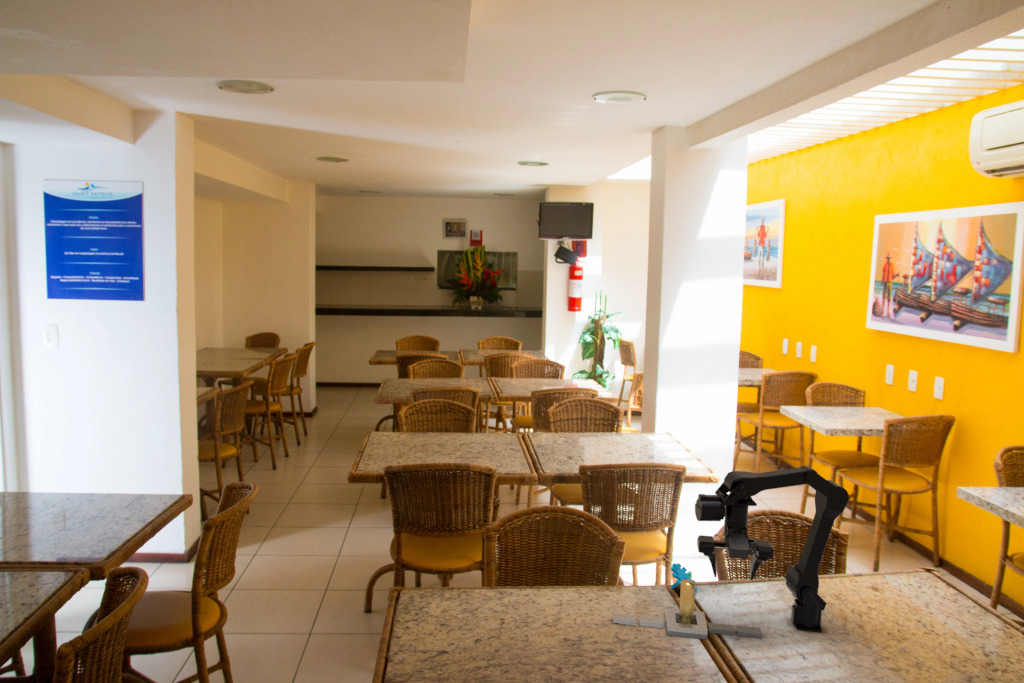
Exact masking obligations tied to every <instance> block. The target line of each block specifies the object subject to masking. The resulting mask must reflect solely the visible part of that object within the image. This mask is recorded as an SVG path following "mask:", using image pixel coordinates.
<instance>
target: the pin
mask: <svg viewBox="0 0 1024 683" xmlns="http://www.w3.org/2000/svg"><path fill="white" fill-rule="evenodd" d="M692 580H693V579H692ZM692 580H689V579H683V580H681V585H680V596H679V610H680V612H679V622H678V623H682V624H692V625H694V624H693V616H694V611H695V610H694V609H695V595H696V594H695V592H696V591H695V587H696V584H695V583H696V581H695V580H694V581H695V582H694V581H692Z"/></svg>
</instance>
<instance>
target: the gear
mask: <svg viewBox="0 0 1024 683" xmlns="http://www.w3.org/2000/svg"><path fill="white" fill-rule="evenodd" d="M671 565H672V566H671V567H670V571H671V572H672V573H671V576H672V577H673V578H675V579H676V580H675V583H673V584H671V585H670V589H672V590H673V589H675V588H677V587H678V586H679V585H680V586H681V580H683V579H689V580H692V581H694V582H695V585H696V581H695V580H694V579H692V577H693V576H692V575H693V573H692V572H691V571H688V570H687V567H685V566H683V567H682V565H681V564H680V563H679V562H677V563H675V562H674V563H673V564H671ZM686 571H688V572H686ZM696 591H698V588H697V587H696V586H695V595H696V594H697V592H696Z"/></svg>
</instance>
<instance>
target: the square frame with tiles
mask: <svg viewBox="0 0 1024 683" xmlns="http://www.w3.org/2000/svg"><path fill="white" fill-rule="evenodd" d="M679 612H680V609H678V608H677V609H675V608H665V626H666V636H671V637H678V638H679V637H680V638H689V639H690V638H691V639H700V640H708V631H709V634H714V633H717V634H716V635H725V636H726V635H727V636H735V631H736V635H737V637H744V638H745V637H746V638H755V639H763V632H762V629H761V627H756V626H746V625H745V626H744V625H735V629H734V626H733V624H725V623H715V622H708V625H707V622H706V615H705V612H704V611H700V610H699V611H697V610H694V616H693V625H692V624H682V623H679ZM612 614H613V615H612V624H614V623H619V624H618V625H624V624H625V625H626V626H637V615H633V614H623V613H612ZM638 620H639V622H638V623H639V627H644V628H645V627H646V628H656V629H663V628H664V621H663V618H662V617H654V616H645V615H644V616H643V615H639V619H638Z"/></svg>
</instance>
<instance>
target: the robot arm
mask: <svg viewBox="0 0 1024 683" xmlns="http://www.w3.org/2000/svg"><path fill="white" fill-rule="evenodd" d="M803 485H808V486H810V487H811V488H812V489H814V490H815V493H814V494H815V496H814V505H815V506H814V507H815V513H814V517H813V520H812V522H811V525H810V528H809V532H808V533H807V534H808V535H807V538H806V541H805V544H804V547H803V550H802V553H801V555H800V559H799V561H798V562H797V563H796V564H795V565H792V564H789V565H788V567H787V572H786V575H785V576H784V579H785V586H786V588H787V589H788V590H789V592H791V593H792V596H793V597H794V598H795V599H794V601H793V604H792V605H791V613H790V614H791V616H790V617H791V618H790V620H791V621H792V623H793V625H794V627H795V629H796V630H798V631H799V630H800V631H810V632H819V631H820V632H823V628H822V625H821V624H822V623H821V622H822V611H824V610H825V608H826V606H827V602H826V600H824V599H823V598H822V597H821V596H820V595H819V587H820V581H819V580H820V579H819V567H820V565H821V562H822V558H823V556H824V553H825V550H826V547H827V543H828V541H829V537H830V535H831V531H832V528H833V526H834V522H835V521H836V519H837V518H838V517H840V515H842V513H843V512H844V510H845V509H846V507H847V505H848V503H849V501H850V494H849V492H848V490H846V488H844V487H843V486H841V485H839V484H838V483H836V482H835V481H833V480H831V479H830V480H829V479H826V478H825V477H823V476H821V475H820V474H819V473H818V472H817V471H816V470H815V469H813V468H812V467H811V466H808V465H802V466H800V467H799V466H797V467H793V468H786V469H778V470H777V469H776V470H771V471H763V472H751V471H746V470H745V471H742V470H739V471H738V470H733V471H729V472H727V474H726V476H725V477H724V479H723V482H722V484H721V485H719V486H718V488H717V489H716V491H715V493H714V494H703V493H701V494H700V493H699V494H698V495H697V496H698V497H697V500H696V502H695V504H694V514H695V518H696V520H697V521H698V522H721V521H722V520H724V528H723V541H718V540H714V536H711V535H699V536H698V537H697V539H696V540H697V543H696V544H697V549H698V550H697V551H698V553H701V554H703V556H705V557H708V560H709V562H710V564H711V569H712V573H713V576H714V578H716V577H717V563H716V562H717V561H716V560H717V559H716V557H717V556H716V552H715V551H716V550H715V549H717V550H727V551H728V557H729V558H730V559H741V560H748V559H749V555H752V556H751V562H750V563H751V564H750V573H749V577H750V579H749V580H750V581H753V580H754V578H755V576H756V573H757V571H758V568H759V567H760V565H762V563H763V562H767V561H768V560H769V559H771V560H772V559H774V556H775V550H774V547H773V545H772V543H771V542H770V541H769V540H763V539H762V540H761V539H754V538H753V539H751V538H749V536H748V521H749V520H748V516H749V507H756V506H757V503H756V502H755V501H754V500H753V497H754V496H756V495H758V494H759V493H761V492H763V491H764V492H765V491H767V490H774V489H780V488H781V489H782V488H787V487H794V486H795V487H797V486H803ZM728 493H729V494H728Z"/></svg>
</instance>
